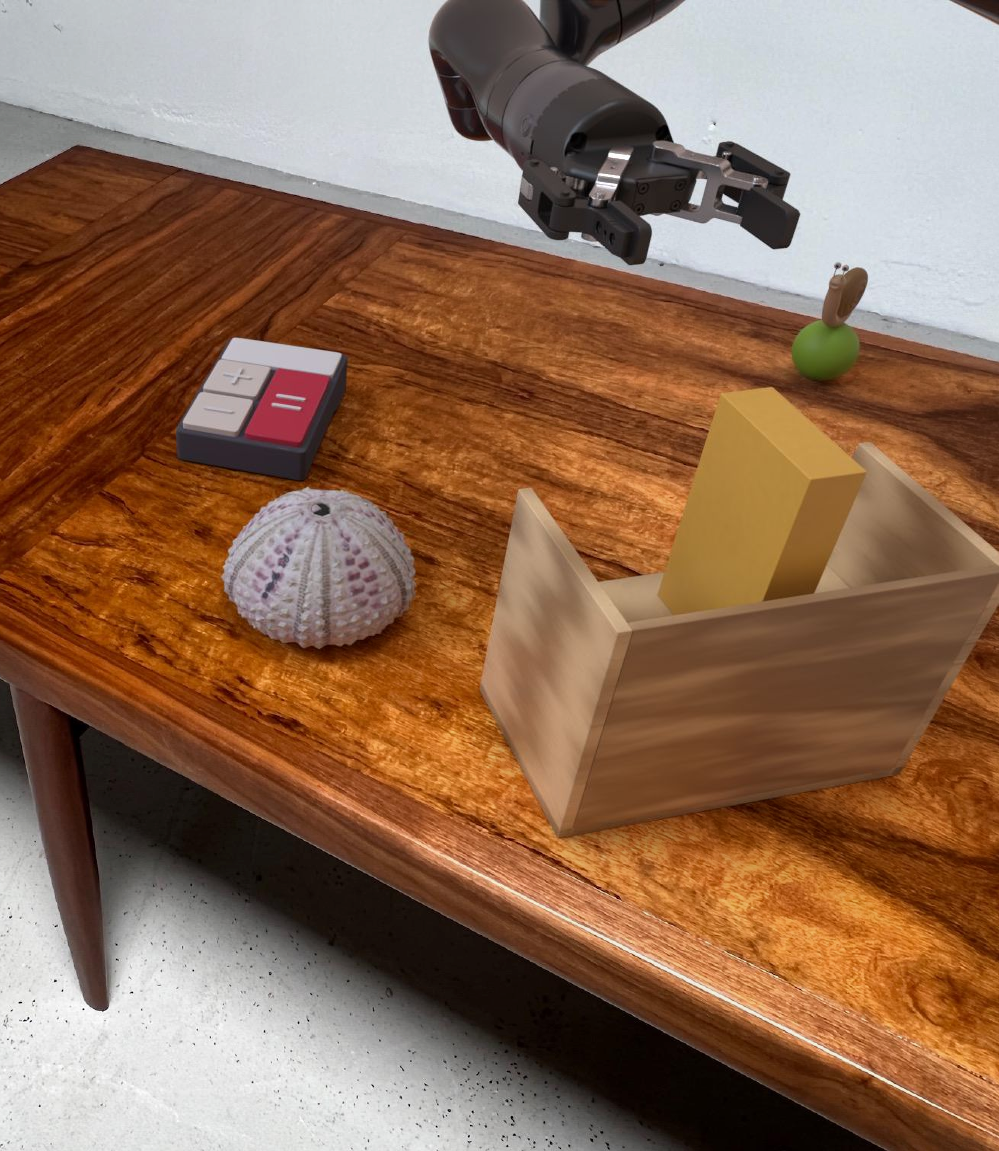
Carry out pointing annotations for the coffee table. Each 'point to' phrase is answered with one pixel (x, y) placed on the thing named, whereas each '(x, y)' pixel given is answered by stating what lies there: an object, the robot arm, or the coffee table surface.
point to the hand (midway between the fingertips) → (716, 240)
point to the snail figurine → (832, 330)
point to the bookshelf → (732, 665)
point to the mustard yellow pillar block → (759, 507)
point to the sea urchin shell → (320, 569)
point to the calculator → (263, 408)
